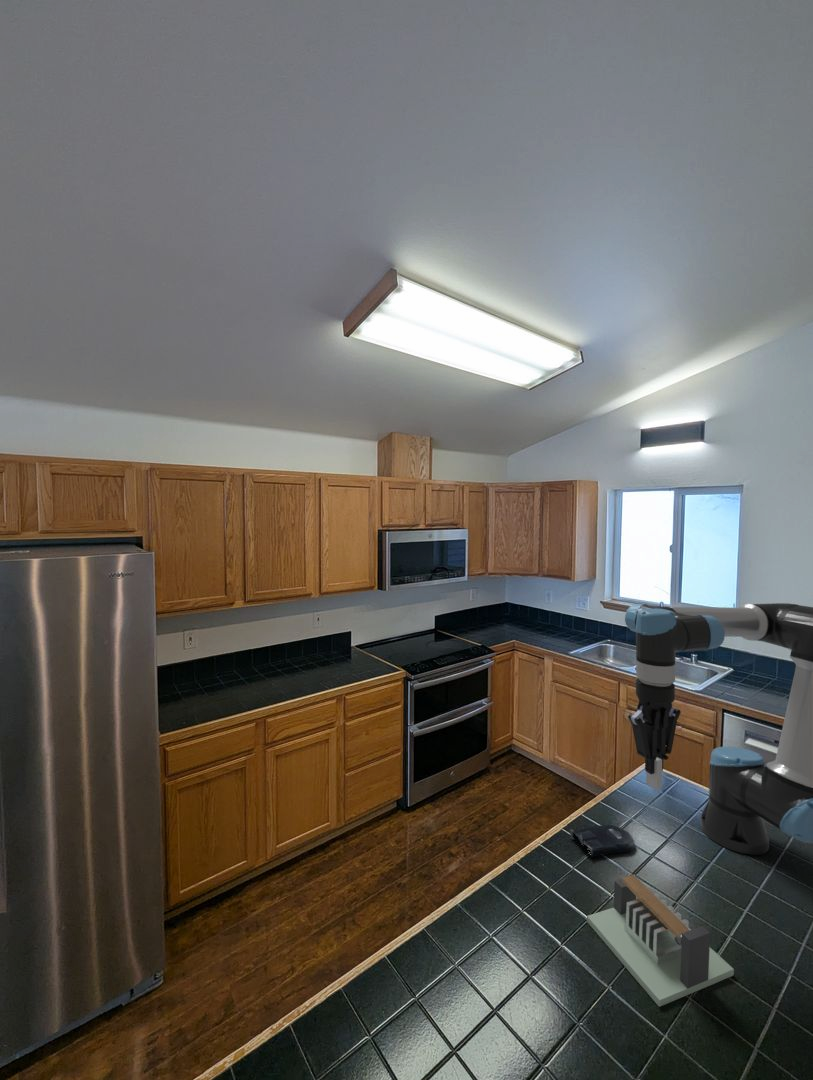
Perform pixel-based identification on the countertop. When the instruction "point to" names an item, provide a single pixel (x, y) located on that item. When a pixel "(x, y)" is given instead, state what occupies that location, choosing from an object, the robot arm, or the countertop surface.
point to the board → (667, 978)
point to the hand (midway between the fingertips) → (653, 786)
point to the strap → (656, 907)
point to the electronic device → (603, 840)
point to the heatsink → (652, 931)
